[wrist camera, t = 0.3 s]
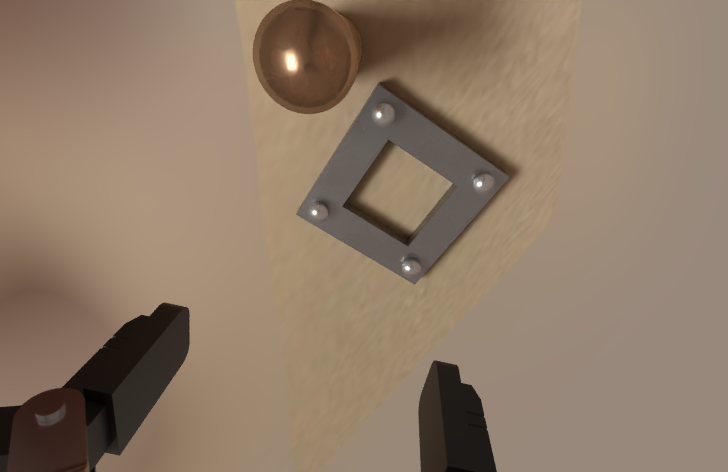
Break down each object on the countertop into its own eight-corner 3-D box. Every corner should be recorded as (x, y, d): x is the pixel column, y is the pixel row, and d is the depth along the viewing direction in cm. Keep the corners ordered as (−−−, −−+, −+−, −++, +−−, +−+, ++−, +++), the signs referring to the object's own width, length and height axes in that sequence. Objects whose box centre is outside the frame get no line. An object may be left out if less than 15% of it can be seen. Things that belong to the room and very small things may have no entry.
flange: (378, 82, 29) (378, 86, 27) (505, 172, 31) (512, 181, 30) (298, 208, 34) (294, 218, 32) (414, 276, 36) (415, 289, 35)
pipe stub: (318, -10, 26) (282, -27, 17) (381, 36, 27) (377, 43, 19) (282, 59, 28) (235, 75, 20) (342, 100, 29) (323, 133, 21)
